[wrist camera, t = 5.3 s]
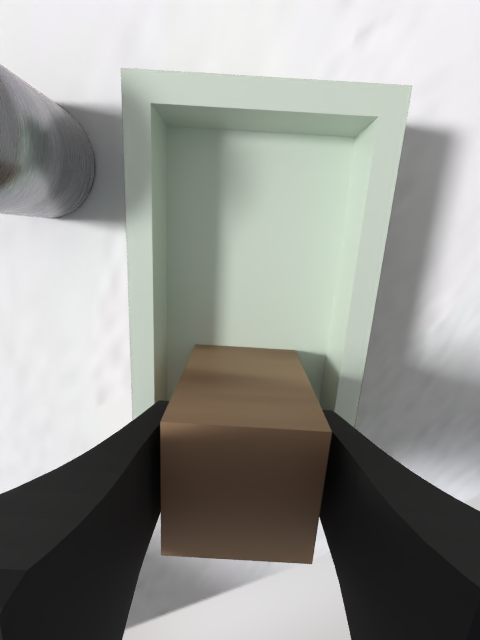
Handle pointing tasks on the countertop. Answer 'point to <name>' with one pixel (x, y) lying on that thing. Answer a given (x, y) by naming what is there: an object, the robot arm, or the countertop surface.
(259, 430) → the walnut block
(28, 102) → the steel cylinder
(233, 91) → the tray
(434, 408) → the countertop surface
